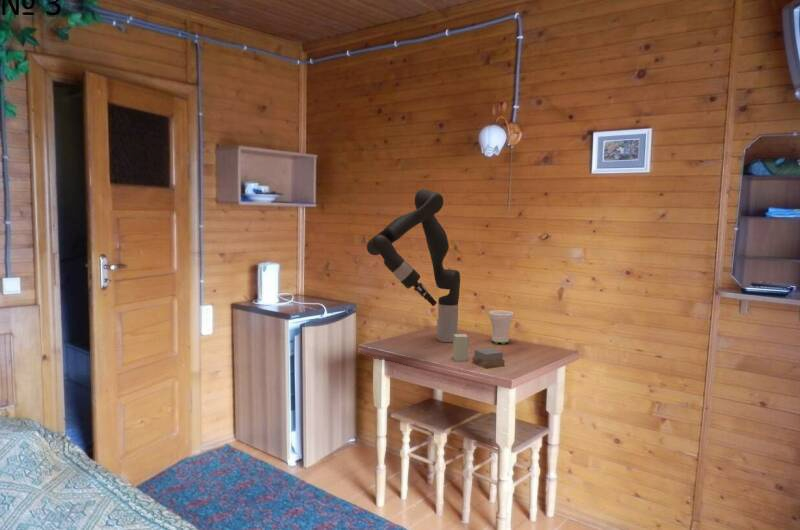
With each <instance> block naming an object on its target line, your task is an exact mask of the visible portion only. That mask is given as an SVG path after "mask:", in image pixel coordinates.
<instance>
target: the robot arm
mask: <svg viewBox="0 0 800 530" xmlns="http://www.w3.org/2000/svg"><path fill="white" fill-rule="evenodd" d="M414 206H415V210H413V211H411V212H408V213H405V214H404V215H403V214H402V215H401V216H399V217H397V218H395V219H394V220H393V221H391V222H390V223H389V224H388V225H386V227H385V228H384V229H383V230H381V231H380V232H379V233H377V234H376V235H374V237H372V238H371V239H369V240H368V242H367V243H366V250H367V252H368V253H369V254H370V255H371V256H372V255H373V256H379V255H380V256H381V257H382V258H383V263H384V266H385V267H386V268H387V269H388V270H389V271H390V272H391V273H392V275H394V277H395V278H396V279H397V280H398V281H399V282H400V283H401V284H402V285H403V286H404V287H405V288H406V289H408V290H409V289H410V288H412V287H414V288H413V290H414V291H415V292H416V293H417V294H418V295H419V296H420V297H421V298H423V299H424V300H425V301H427V302H428V303H429V304H430V305H431V306H432V307H434V306H436V304H437V302H438V304H437V305H438V307H437V308H438V309H437V319H436V339H437V341H439V342H443V343H453V342H454V334H458V332H459V331H458V328H459V322H458V321H459V299H460V288H461V274H460V271H459V270H456V269H445V268H444V266H443V262H444V259H445V258H446V256H447V254H448V251H449V248H450V245H449V241H448V240H449V239H448V236H447V232H446V231H445V229H444V227H443V226H442V224H441V223H440V222H439V221H438V220H437V218H436V214H437V213H439V212H441V210H442V208H443V206H444V198H443V196H442V194H440V193H439V192H437V191H434V190H433V191H432V190H429V189H424V188H423V189H419V190H418V191H417V192H416V193H415V196H414ZM420 224H421V225H422V226H421V227H422V228H423V232H424V236H425V241H426V244H427V248H428V251H429V256H430V259H431V264H432V270H433V274H434V276H433V277H434V282H435V285H436V287H437V288H438V289H441V290H449V293H447V294H446V295H442V296H440V297H438V299H437V301H436V300H435V299H434V297H433V296H432V295H431V294H430V293H429V290H428V289H427V288H426V287H425V286H424V284H423V283H422V282H419V281H420V278H421V274H419V273H418V272H417V270H415V268H413V266H411V264H410V263H408V262H407V261H406V260H405V259H404V258H403V257H402V256H401V255H400V253H398V251H397V250H396V248H395V247H394V245H393V243H395V242H397V241H399V239H401V238H402V237H403V236H404V235H405V234H406V233H407V232H409V231H410V230H411V229H413V228H415V227H416V226H417V225H420Z"/></svg>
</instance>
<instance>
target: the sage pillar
mask: <svg viewBox="0 0 800 530" xmlns="http://www.w3.org/2000/svg"><path fill="white" fill-rule="evenodd" d="M452 343H453V344H452V345H453V346H452V348H453V349H452V354H453V355H452V358H453V360H454V361H455V362H468V356H469V355H468V352H469V348H468V347H469V336H468V335H467V334H466V333H457V334H454V342H452Z"/></svg>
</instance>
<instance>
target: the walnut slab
mask: <svg viewBox="0 0 800 530" xmlns="http://www.w3.org/2000/svg"><path fill="white" fill-rule="evenodd" d="M472 364H474V365H475V366H479V367H481V368H483V369H492V368H493V369H494V368H499V367H505V359H503V360H497V361H490V362H485V361H483V360H480V359H478V358H476V357H474V356H472Z"/></svg>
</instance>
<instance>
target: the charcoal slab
mask: <svg viewBox="0 0 800 530" xmlns="http://www.w3.org/2000/svg"><path fill="white" fill-rule="evenodd" d="M473 353H474V354H473V355H474V356H473V357H476V358H478V359H480V360H483V361H485V362H490V361H497V360H504V352H503V351H501V350H498V349H496V348H493V347H485V348H476V349H474V352H473Z"/></svg>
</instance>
